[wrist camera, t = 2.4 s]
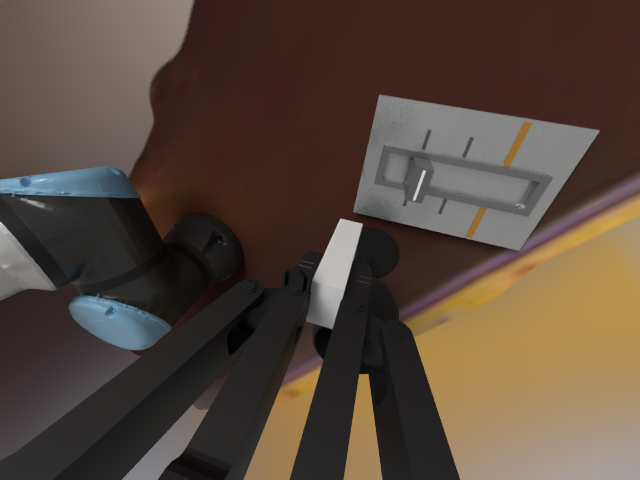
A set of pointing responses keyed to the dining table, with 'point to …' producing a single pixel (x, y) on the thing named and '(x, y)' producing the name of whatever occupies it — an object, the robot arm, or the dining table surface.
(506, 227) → the console
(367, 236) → the wine glass
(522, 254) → the dining table surface
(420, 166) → the fader knob
